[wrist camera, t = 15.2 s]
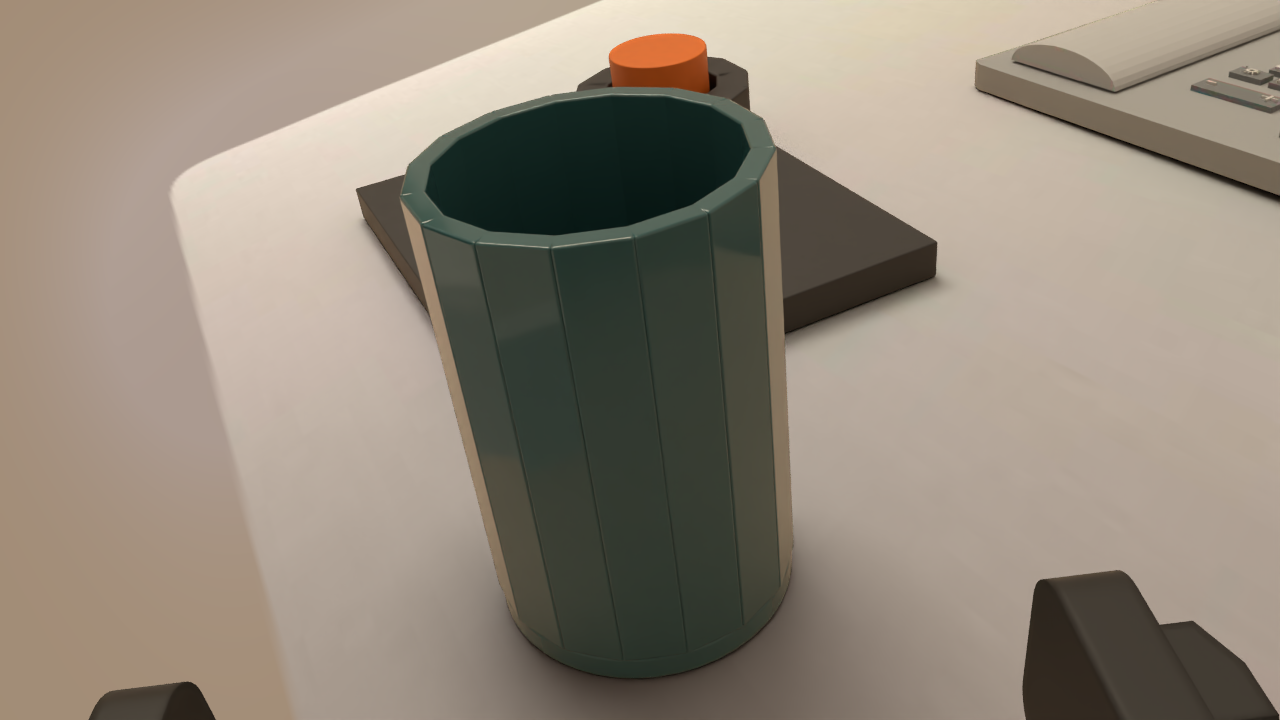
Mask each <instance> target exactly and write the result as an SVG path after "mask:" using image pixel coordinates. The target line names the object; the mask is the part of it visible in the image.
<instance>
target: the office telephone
mask: <svg viewBox="0 0 1280 720" xmlns="http://www.w3.org/2000/svg"><path fill="white" fill-rule="evenodd" d="M975 86H976V87H977V89H979V90H982V91H984V92H987V93H990V94H993V95H996V96H998V97H1001V98H1004V99H1007V100H1010V101H1012V102H1015V103H1018V104H1021V105H1023V106H1026V107H1029V108H1032V109H1035V110H1038V111H1040V112H1043V113H1046V114H1049V115H1052V116H1055V117H1057V118H1060V119H1063V120H1066V121H1069V122H1072V123H1075V124H1077V125H1080V126H1083V127H1086V128H1089V129H1092V130H1095V131H1097V132H1100V133H1103V134H1106V135H1109V136H1112V137H1114V138H1117V139H1120V140H1123V141H1126V142H1129V143H1132V144H1134V145H1137V146H1140V147H1143V148H1146V149H1149V150H1152V151H1154V152H1157V153H1160V154H1163V155H1166V156H1169V157H1171V158H1174V159H1177V160H1180V161H1183V162H1186V163H1189V164H1191V165H1194V166H1197V167H1200V168H1203V169H1206V170H1209V171H1211V172H1214V173H1217V174H1220V175H1223V176H1226V177H1229V178H1231V179H1234V180H1237V181H1240V182H1243V183H1246V184H1248V185H1251V186H1254V187H1257V188H1260V189H1263V190H1266V191H1268V192H1271V193H1274V194H1277V195H1280V0H1157V1H1154V2H1151V3H1148V4H1145V5H1142V6H1139V7H1136V8H1133V9H1131V10H1128V11H1125V12H1122V13H1119V14H1116V15H1113V16H1110V17H1107V18H1104V19H1101V20H1098V21H1095V22H1092V23H1089V24H1086V25H1083V26H1080V27H1077V28H1074V29H1071V30H1068V31H1065V32H1062V33H1059V34H1056V35H1053V36H1049V37H1046V38H1043V39H1040V40H1037V41H1034V42H1031V43H1028V44H1025V45H1022V46H1019V47H1016V48H1013V49H1010V50H1007V51H1004V52H1001V53H998V54H994V55H991V56H988V57H985V58H982V59H978V60H976V70H975Z"/></svg>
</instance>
